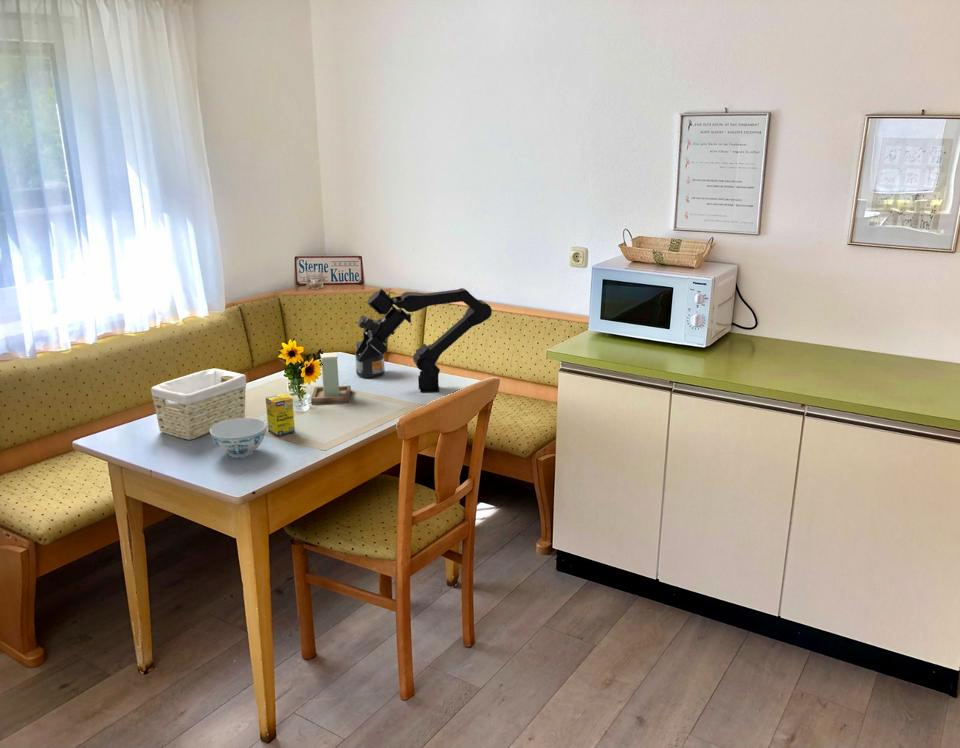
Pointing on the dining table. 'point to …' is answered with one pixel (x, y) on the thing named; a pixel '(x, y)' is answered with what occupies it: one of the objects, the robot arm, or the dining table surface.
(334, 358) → the tea tin
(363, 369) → the supplement container
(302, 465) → the dining table surface
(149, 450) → the dining table surface
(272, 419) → the supplement box
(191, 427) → the storage basket
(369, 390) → the dining table surface
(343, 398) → the walnut tray
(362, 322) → the robot arm
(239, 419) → the chinaware
